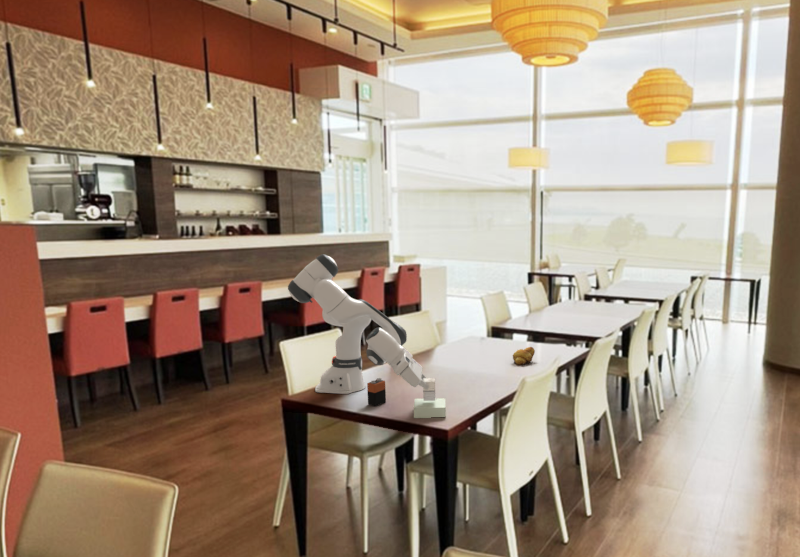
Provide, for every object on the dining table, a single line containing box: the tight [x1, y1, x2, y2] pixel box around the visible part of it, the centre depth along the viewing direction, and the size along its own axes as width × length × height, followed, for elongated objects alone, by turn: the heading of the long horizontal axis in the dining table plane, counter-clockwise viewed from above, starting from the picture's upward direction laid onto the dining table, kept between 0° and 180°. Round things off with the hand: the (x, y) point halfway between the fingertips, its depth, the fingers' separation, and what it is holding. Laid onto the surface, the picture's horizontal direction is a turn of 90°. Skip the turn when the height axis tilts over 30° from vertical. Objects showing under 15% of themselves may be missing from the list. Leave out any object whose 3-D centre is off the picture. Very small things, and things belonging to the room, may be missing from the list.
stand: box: [413, 397, 447, 419], centre depth 213 cm, size 12×11×4 cm
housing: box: [422, 377, 436, 401], centre depth 212 cm, size 5×5×8 cm
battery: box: [366, 377, 387, 407], centre depth 227 cm, size 4×7×10 cm, turn 140°
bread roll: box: [512, 346, 536, 365], centre depth 285 cm, size 13×10×8 cm
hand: (428, 385), depth 212 cm, fingers closed on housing, 4 cm apart
